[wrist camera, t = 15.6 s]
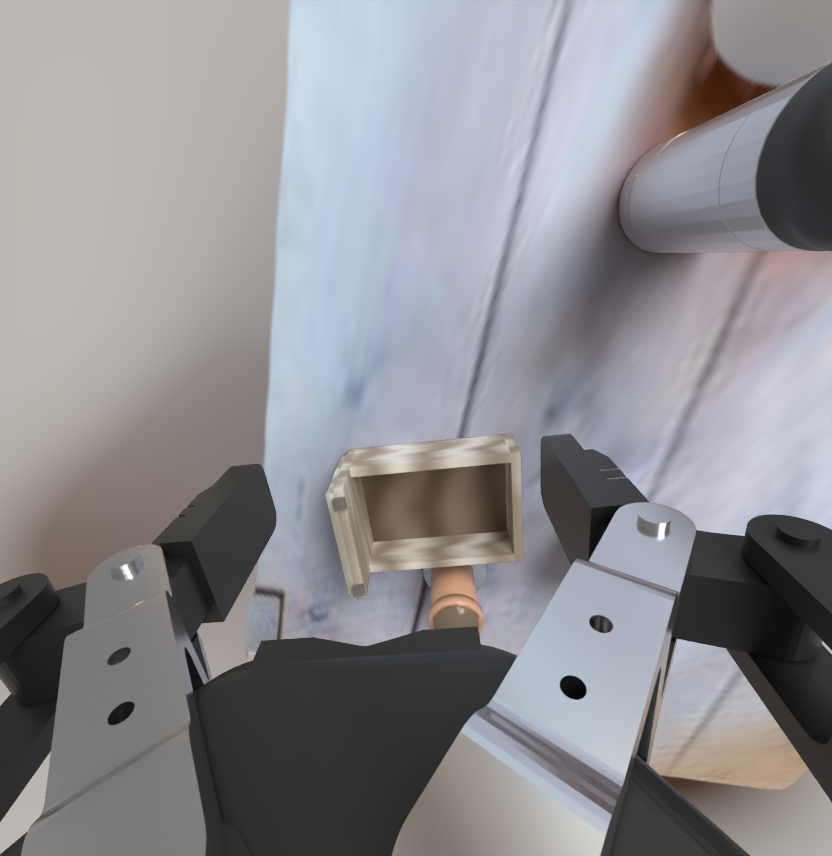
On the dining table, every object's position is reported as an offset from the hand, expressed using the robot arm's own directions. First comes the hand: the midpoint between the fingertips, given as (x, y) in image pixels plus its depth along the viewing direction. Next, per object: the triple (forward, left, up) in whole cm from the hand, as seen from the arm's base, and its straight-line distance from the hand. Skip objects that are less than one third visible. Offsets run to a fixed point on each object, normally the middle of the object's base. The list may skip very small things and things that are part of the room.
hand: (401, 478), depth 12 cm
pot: (-1, +33, -32) cm, 46 cm away
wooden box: (0, +21, -33) cm, 39 cm away
